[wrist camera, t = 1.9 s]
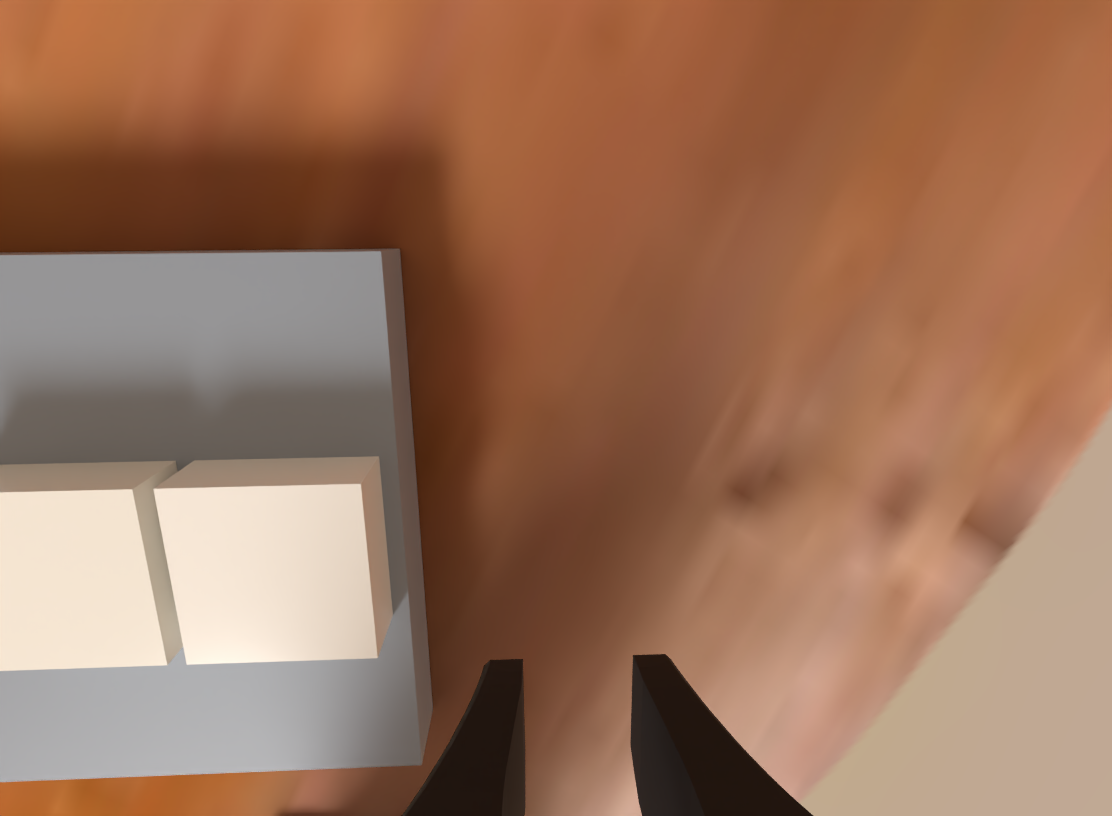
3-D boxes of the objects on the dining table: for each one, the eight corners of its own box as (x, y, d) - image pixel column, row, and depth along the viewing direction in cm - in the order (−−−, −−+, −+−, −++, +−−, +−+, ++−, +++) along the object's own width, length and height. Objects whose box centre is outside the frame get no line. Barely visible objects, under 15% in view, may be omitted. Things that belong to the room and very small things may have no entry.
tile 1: (392, 614, 19) (377, 658, 17) (221, 620, 19) (186, 664, 17) (379, 456, 18) (361, 483, 16) (194, 460, 18) (152, 488, 16)
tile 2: (203, 620, 19) (167, 665, 17) (28, 626, 19) (-29, 671, 17) (175, 460, 18) (132, 489, 16) (-14, 465, 17) (-81, 494, 15)
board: (433, 708, 23) (421, 765, 21) (0, 725, 22) (-63, 784, 20) (400, 248, 19) (381, 251, 16) (-136, 253, 18) (-238, 257, 16)
